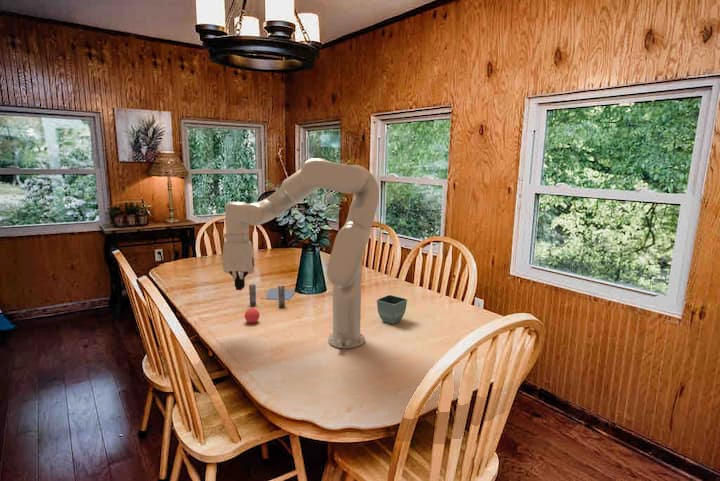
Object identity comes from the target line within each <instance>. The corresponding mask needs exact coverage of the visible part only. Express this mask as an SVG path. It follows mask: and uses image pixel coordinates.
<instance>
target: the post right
mask: <svg viewBox="0 0 720 481" xmlns="http://www.w3.org/2000/svg"><path fill="white" fill-rule="evenodd" d="M277 289H278V297H279V300H278V308H279V309H283V308H286V300H285V289H286V288H285V285H278V287H277Z"/></svg>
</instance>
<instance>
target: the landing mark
mask: <svg viewBox="0 0 720 481" xmlns="http://www.w3.org/2000/svg"><path fill="white" fill-rule="evenodd" d="M269 289H270V290H269V293H268V292H266V291H265V292H266V293H268V294H266V295H267V296H266V297H267V299H266V300H278V301H279V297H278V288H269ZM294 290H295V289H286V288H285V301H289V300H291V298H292V297H293V296H294V295H295V294H294V293H296V292H294Z"/></svg>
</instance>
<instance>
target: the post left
mask: <svg viewBox="0 0 720 481" xmlns="http://www.w3.org/2000/svg"><path fill="white" fill-rule="evenodd" d="M248 287H249V288H248V289H249V292H248V294H249V306H250V307H251V306H254V307H257V291H256V290H257V289H256V284H249V285H248Z"/></svg>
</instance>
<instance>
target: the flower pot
mask: <svg viewBox="0 0 720 481" xmlns="http://www.w3.org/2000/svg"><path fill="white" fill-rule="evenodd" d="M407 304H408V299H407V298H405V297H400V296H395V295H392V294H388V295H386V296H383V297H380V298H378V299H376V305H377V306H376V307H377V313H378V315H379V318H380V319H381V321H382V322H385V323H387V324H391V325H395V324H397V323H398V322H400V321H401V320H402V319H403V317H404V316H405V313H406V309H407Z"/></svg>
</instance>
